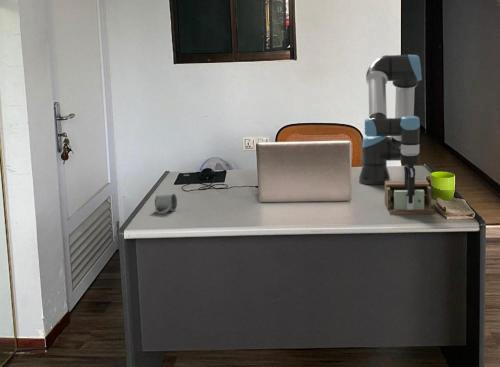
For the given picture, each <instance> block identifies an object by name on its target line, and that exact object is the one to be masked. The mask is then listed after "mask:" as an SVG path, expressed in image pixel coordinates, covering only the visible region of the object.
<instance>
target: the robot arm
mask: <svg viewBox="0 0 500 367" xmlns="http://www.w3.org/2000/svg"><path fill="white" fill-rule="evenodd" d="M365 75H366V76H365V81H366V84H367V85H368V118H365V119H364V135H365V136H364V137H363V138H362V146H361V147H362V166H361V169H360V173H359V176H358V182H359V183H361V184H363V185H371V186H373V185H375V186H376V185H385V181H391V176H390V172H389V170H388V165H387V161H389V162H390V161H400V164H401V165H404V168H403V170H404V171H403V172H404V181H405V187H404V189H405V190H407V194H406V196H407V210H414V195H415V180H416V168H415V165H418V164H420V155H419V154H420V127H421V122H420V117H419V116H416V115H414V114H415V113H414V111H415V88H416V87H418V85H419V82H420V81H422V80H423V77H422V67H421V60H420V56H419V55H418V54H397V55H396V54H395V55H382V56H379V57H377V58H376V59H375V60H373V61H372V63H371V64H370V65H369V67H368V69H367V71H366V74H365ZM388 82H392V85H393V86H394V87H395V105H394V106H395V108H394V116H395V117H394V118H392V117H389V118H388V117H387V91H386V90H387V88H386V87H387V83H388Z"/></svg>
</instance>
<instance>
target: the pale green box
mask: <svg viewBox="0 0 500 367" xmlns="http://www.w3.org/2000/svg"><path fill="white" fill-rule="evenodd" d="M406 194H407V190H394V210H407V196H406ZM414 210H424V190H415V195H414Z"/></svg>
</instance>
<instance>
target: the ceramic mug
mask: <svg viewBox="0 0 500 367" xmlns="http://www.w3.org/2000/svg"><path fill="white" fill-rule="evenodd" d="M154 206H155V212H156V214H158V215H164V214H167V213H168V212H175V211H176V209H177V206H178V199H177V195H176V194H175V193H173V192H172V193H159V194H157V195H156V196H155V198H154Z"/></svg>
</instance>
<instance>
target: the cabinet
mask: <svg viewBox="0 0 500 367" xmlns="http://www.w3.org/2000/svg"><path fill="white" fill-rule="evenodd" d="M404 187H405V180H390V181H385V184H384V206H385V207H386V209H387V211H389V215H419V214H420V215H421V214H423V215H424V214H427V215H428V214H434V213H435V209H432V188H431V186H430V182H429V181H428V179H415V190H424V210H394V190H405V189H404Z"/></svg>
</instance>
